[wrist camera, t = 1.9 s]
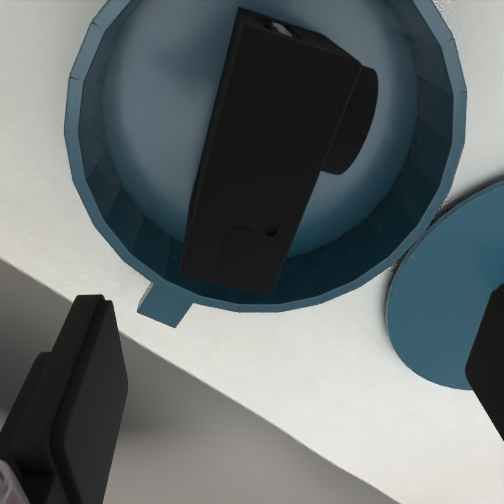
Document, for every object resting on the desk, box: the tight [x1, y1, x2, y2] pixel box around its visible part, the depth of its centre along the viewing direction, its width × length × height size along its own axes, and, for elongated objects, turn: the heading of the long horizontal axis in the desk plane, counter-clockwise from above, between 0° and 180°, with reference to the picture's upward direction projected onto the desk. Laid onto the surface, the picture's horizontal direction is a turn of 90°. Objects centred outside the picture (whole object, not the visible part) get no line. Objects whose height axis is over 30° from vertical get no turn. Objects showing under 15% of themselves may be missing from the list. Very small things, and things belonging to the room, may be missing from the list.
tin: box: [64, 0, 467, 328], centre depth 22 cm, size 17×23×5 cm
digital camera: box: [179, 7, 379, 294], centre depth 20 cm, size 10×5×7 cm, turn 163°
